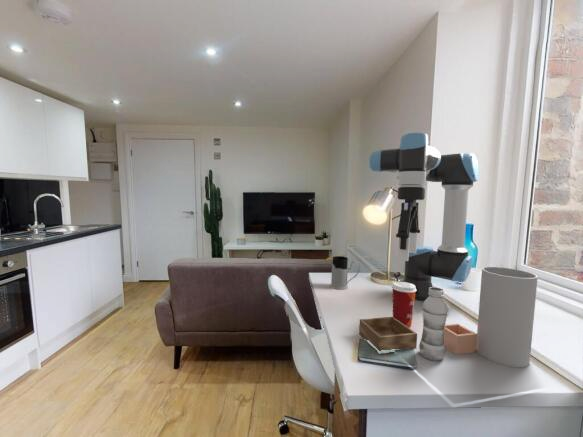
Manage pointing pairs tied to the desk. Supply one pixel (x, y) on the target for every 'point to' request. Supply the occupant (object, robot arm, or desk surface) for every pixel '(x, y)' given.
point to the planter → (459, 339)
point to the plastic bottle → (433, 325)
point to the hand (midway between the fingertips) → (407, 256)
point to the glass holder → (340, 273)
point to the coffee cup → (403, 302)
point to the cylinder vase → (506, 315)
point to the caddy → (387, 333)
